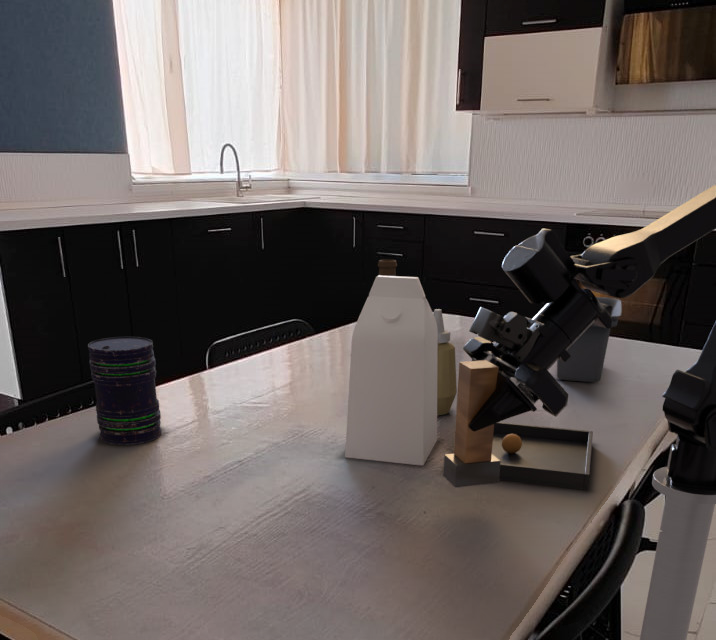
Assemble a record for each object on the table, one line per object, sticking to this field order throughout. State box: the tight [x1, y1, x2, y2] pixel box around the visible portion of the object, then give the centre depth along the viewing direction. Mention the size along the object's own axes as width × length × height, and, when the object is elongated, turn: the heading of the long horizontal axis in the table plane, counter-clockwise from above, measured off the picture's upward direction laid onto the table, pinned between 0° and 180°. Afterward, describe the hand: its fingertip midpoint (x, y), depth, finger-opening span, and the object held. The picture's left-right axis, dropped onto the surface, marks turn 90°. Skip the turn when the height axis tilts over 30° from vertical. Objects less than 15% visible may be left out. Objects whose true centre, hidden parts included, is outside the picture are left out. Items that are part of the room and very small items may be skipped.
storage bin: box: [556, 296, 623, 383], centre depth 161 cm, size 21×16×14 cm
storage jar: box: [87, 336, 163, 446], centre depth 122 cm, size 10×10×15 cm
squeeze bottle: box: [433, 308, 458, 416], centre depth 134 cm, size 8×8×18 cm
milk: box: [344, 274, 438, 466], centre depth 115 cm, size 12×12×26 cm
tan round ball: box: [502, 434, 522, 454], centre depth 116 cm, size 3×3×3 cm
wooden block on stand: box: [442, 360, 501, 488], centre depth 96 cm, size 6×4×15 cm, turn 106°
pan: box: [452, 421, 594, 491], centre depth 116 cm, size 19×19×2 cm
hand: (464, 423), depth 95 cm, fingers closed on wooden block on stand, 3 cm apart
